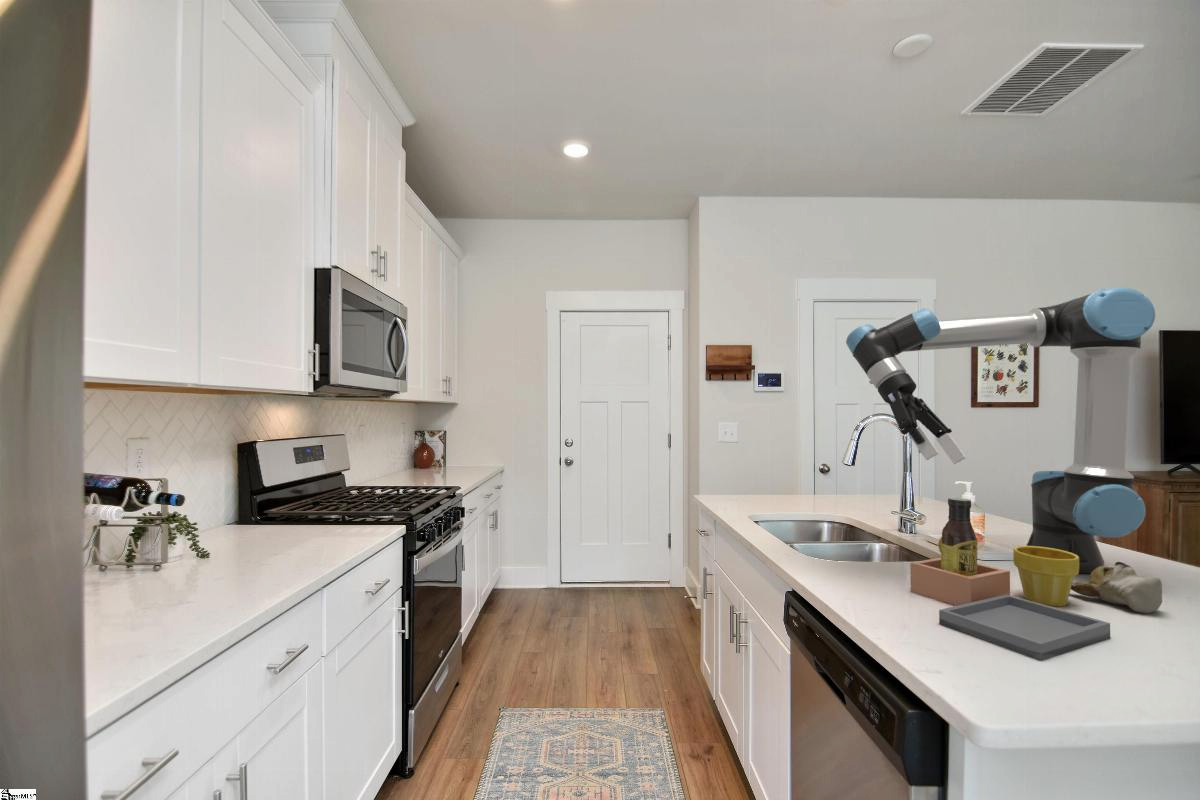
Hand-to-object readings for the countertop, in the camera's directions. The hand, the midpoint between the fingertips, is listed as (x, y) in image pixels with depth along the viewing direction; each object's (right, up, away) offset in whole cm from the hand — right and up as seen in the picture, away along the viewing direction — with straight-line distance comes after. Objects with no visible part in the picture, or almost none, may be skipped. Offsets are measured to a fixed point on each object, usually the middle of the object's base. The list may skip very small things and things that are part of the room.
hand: (946, 459), depth 120 cm
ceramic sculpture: (+28, -28, -10) cm, 41 cm away
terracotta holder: (-1, -27, -5) cm, 28 cm away
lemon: (+14, -28, +19) cm, 37 cm away
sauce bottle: (-1, -28, -5) cm, 28 cm away
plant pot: (+15, -28, -8) cm, 32 cm away
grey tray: (-1, -27, -23) cm, 36 cm away
